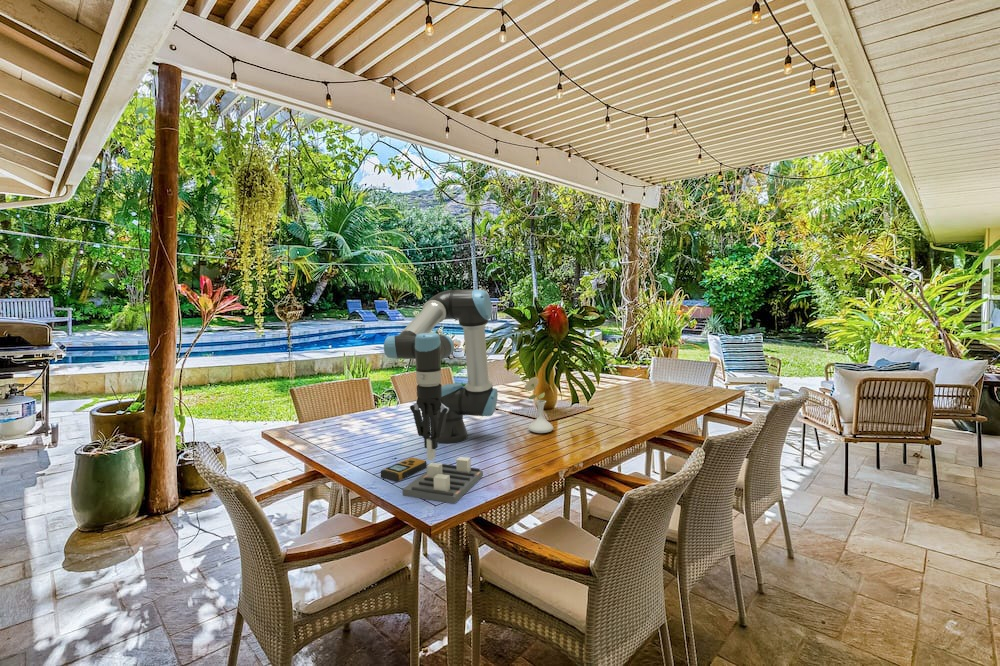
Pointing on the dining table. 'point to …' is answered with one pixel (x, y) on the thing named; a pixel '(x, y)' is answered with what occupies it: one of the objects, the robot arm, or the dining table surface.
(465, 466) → the tab
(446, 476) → the tab
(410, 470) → the electronic device
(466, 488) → the switch bank
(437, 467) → the tab
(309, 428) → the dining table surface
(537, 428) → the flower in vase
